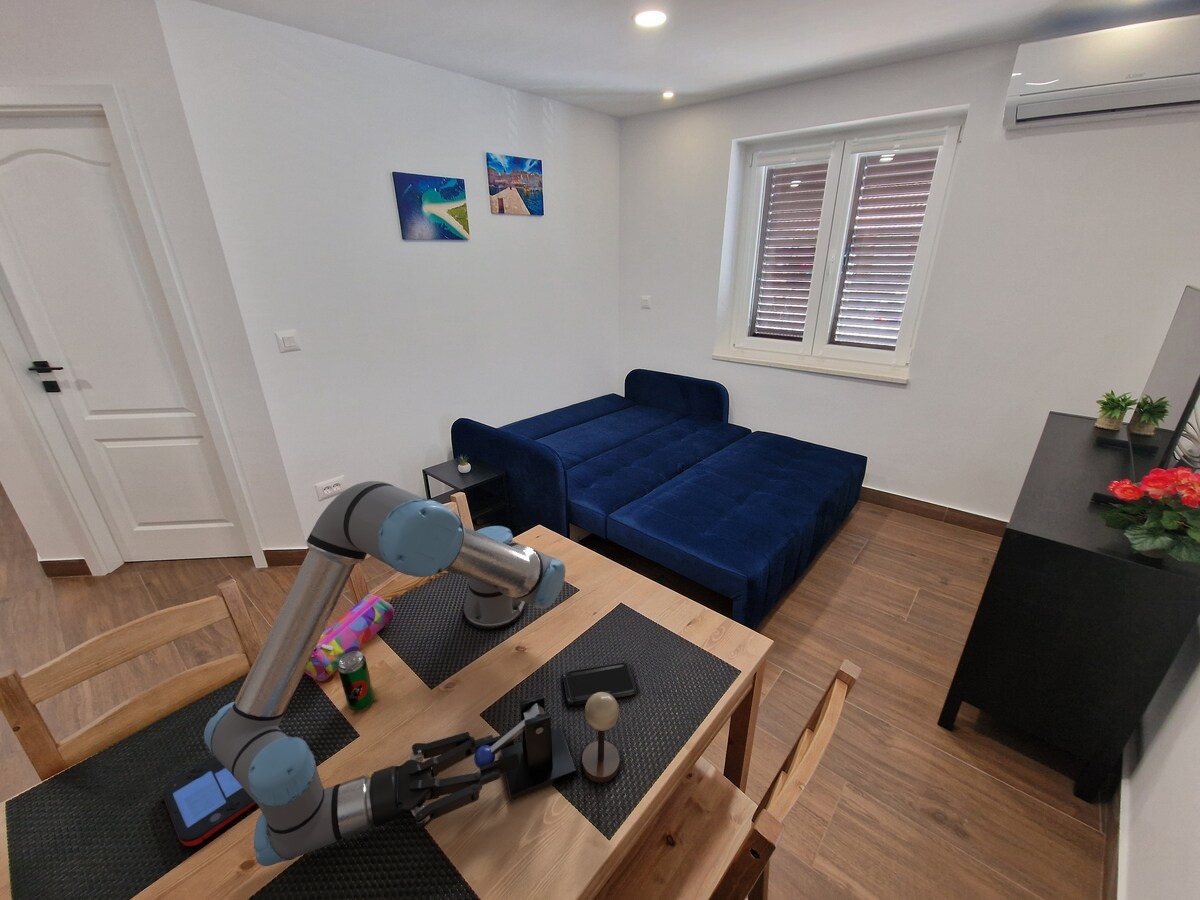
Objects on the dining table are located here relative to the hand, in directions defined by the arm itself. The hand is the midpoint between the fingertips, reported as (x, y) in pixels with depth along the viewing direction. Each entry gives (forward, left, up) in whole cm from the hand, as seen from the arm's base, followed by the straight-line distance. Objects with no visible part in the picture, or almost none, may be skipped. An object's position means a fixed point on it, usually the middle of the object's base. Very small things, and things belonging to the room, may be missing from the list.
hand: (515, 748), depth 86 cm
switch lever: (0, 0, +2) cm, 2 cm away
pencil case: (-42, -30, -7) cm, 52 cm away
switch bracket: (0, +4, -6) cm, 7 cm away
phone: (-12, +21, -6) cm, 25 cm away
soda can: (-26, -27, -7) cm, 38 cm away
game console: (-15, -49, -7) cm, 52 cm away
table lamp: (+4, +15, -6) cm, 17 cm away
